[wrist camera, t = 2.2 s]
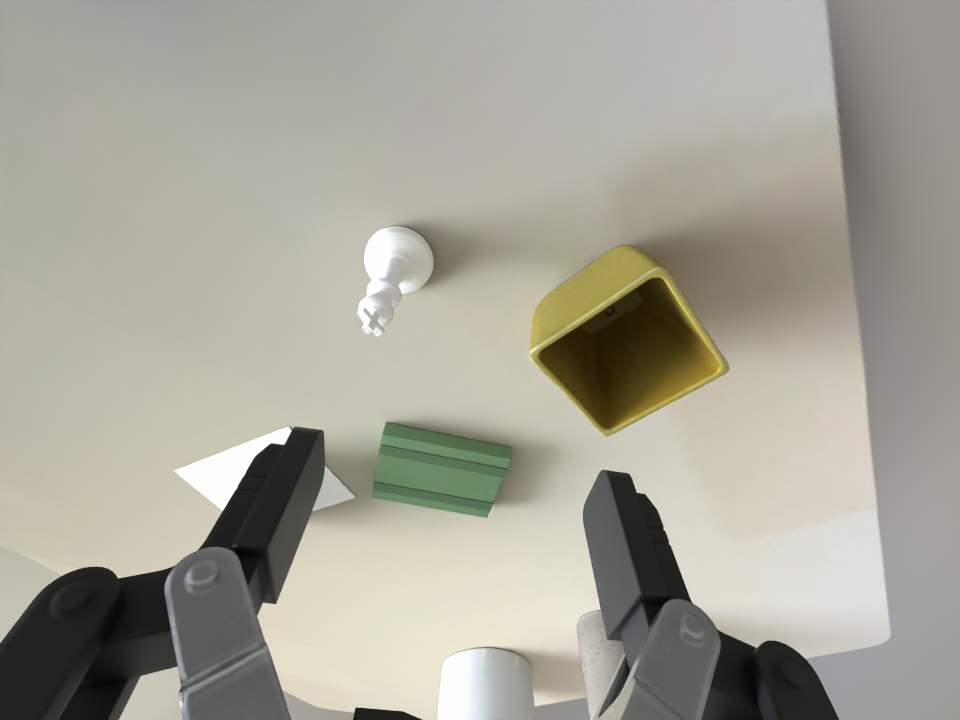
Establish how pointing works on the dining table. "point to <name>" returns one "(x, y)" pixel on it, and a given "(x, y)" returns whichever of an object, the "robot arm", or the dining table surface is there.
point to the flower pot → (622, 340)
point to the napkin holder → (228, 468)
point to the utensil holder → (486, 686)
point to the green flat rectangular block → (439, 470)
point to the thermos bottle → (597, 657)
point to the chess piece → (392, 273)
